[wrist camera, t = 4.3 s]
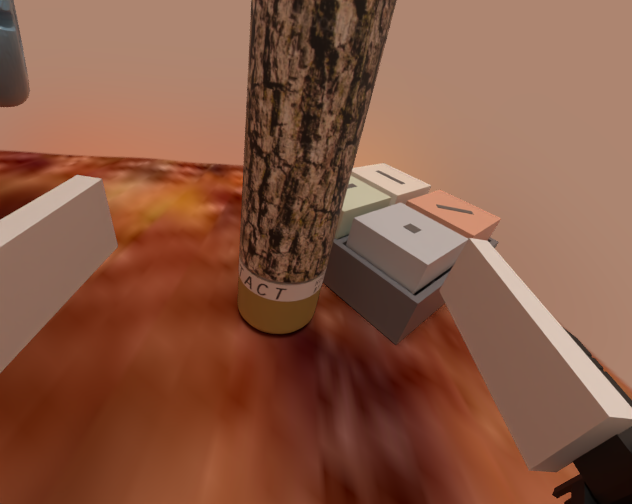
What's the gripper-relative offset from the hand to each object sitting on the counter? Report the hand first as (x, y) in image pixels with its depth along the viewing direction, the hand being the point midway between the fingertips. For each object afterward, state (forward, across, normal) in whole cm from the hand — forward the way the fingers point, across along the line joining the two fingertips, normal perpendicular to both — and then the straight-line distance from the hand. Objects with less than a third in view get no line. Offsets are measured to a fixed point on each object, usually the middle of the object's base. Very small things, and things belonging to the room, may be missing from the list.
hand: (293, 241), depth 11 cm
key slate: (+13, +11, -9) cm, 19 cm away
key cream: (+26, +11, -9) cm, 29 cm away
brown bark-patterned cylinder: (+10, 0, -14) cm, 17 cm away
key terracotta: (+19, +17, -9) cm, 27 cm away
